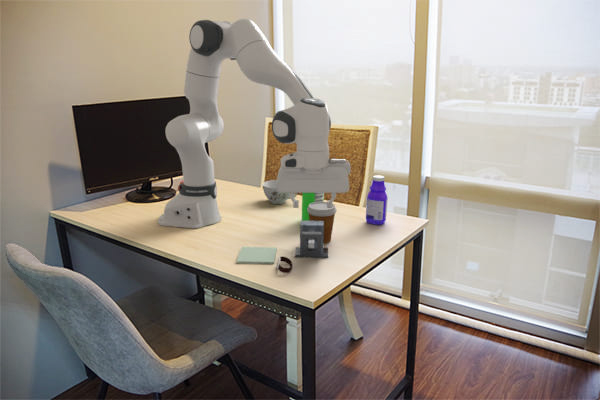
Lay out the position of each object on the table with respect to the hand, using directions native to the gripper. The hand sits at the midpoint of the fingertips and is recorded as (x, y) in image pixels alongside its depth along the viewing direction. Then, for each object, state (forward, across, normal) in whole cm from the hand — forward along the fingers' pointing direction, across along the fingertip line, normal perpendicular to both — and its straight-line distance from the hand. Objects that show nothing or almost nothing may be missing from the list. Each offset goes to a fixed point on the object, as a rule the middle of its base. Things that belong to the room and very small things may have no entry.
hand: (312, 207), depth 135 cm
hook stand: (+17, 0, -3) cm, 18 cm away
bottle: (+18, -23, -37) cm, 47 cm away
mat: (+17, +17, -5) cm, 25 cm away
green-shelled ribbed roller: (+18, 0, -37) cm, 41 cm away
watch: (+18, +8, +3) cm, 20 cm away
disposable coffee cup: (+18, -3, -19) cm, 26 cm away
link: (+14, 0, 0) cm, 14 cm away
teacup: (+17, +14, -60) cm, 63 cm away
